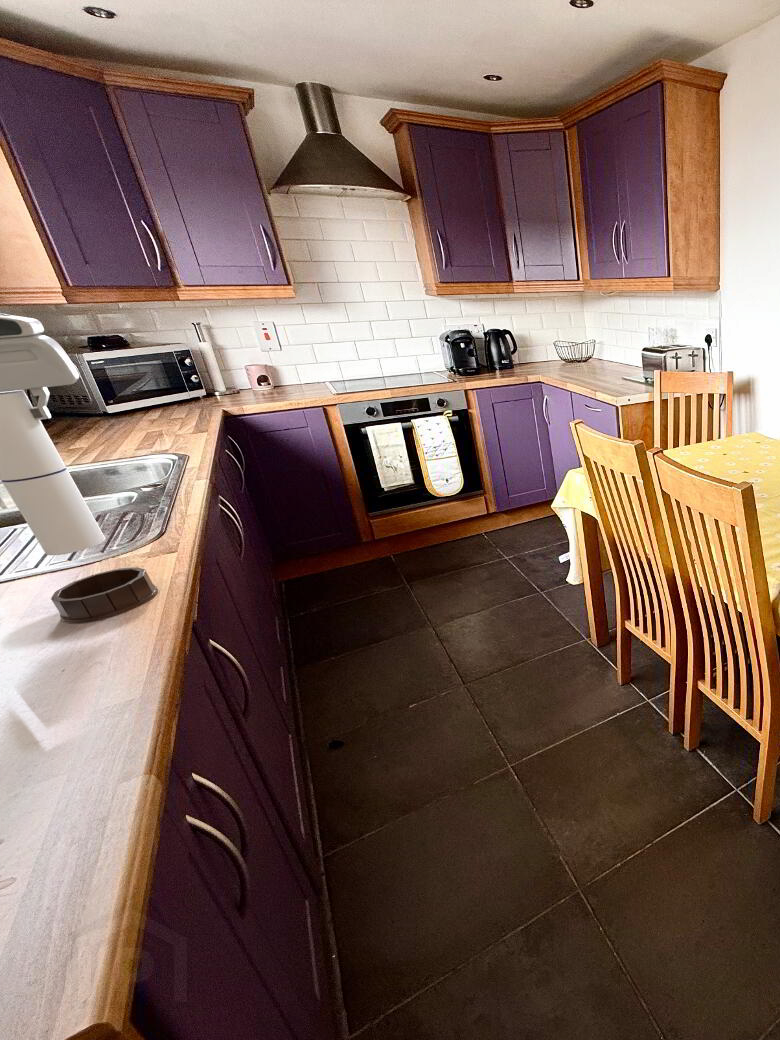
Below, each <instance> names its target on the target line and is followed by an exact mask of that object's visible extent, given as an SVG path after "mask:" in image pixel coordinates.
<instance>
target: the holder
mask: <svg viewBox="0 0 780 1040" xmlns="http://www.w3.org/2000/svg"><path fill="white" fill-rule="evenodd" d="M158 592H159V588H158V587H157V585H156V584H154V583H153V582H152V579H151V578H150V576H149V574H148V572H147V569H145V568H141V567H137V566H133V567H121V568H115V569H110V570H106V571H103V572H99V573H95V574H91V575H89V576H87V577H86V576H85V577H83V578H81V579H77V580H74V581H72V582H70V583H68V584H66V585H65V586H63V587H61V588H59V589H57V590H56V591H54V593H53V594H52V596H51V597H50V600H51V601H52V603H53V605H54V606H55V607H56V609H57V611H58V612H59V614H60V615H59V618H60V620H61V621H62V620H63V621H62V622H63V623H66V622H67V624H85V623H90V622H95V621H100V620H105V619H108V618H111V617H113V616H117V615H121V614H124V613H126V612H128V611H131V610H133V609H136V608H138V607H140V606H142V605H144V604H145V603H147V602H148V601H149V602H150V600H152V599H153V598H154V597H156V595H157V594H158Z"/></svg>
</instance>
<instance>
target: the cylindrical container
mask: <svg viewBox="0 0 780 1040" xmlns="http://www.w3.org/2000/svg"><path fill="white" fill-rule="evenodd" d="M33 407H34V406H33V404H32V403H31V401H30V399H29V397H28V395H27V394H26V392H25V389H24V390H15V391H6V392H0V480H1V483H2V485H3V486H4V488H5V489H6V492H8V494H9V496H10V497H11V499H12V501H13V502H14V504H15V505H16V508H18V511H19V512H20V514H21V516H22V517H23V519H24V520H25V522H26V524H27V526H28V527H29V529H30V530H31V532H32V534H33V535H34V537H35V539H36V540H37V542H38V544H39V545H40V547H41V549H42V550H43V553H45V555H46V556H62V555H67V554H72V553H73V554H74V553H77V552H81V551H85V550H87V549H90V548H94V547H96V546H98V545H100V544H102V543H103V542H105V540H106V536H105V535H104V532H103V531H102V530H101V528H100V526H99V524H98V522H97V520H96V519H95V517H94V514H93V513H92V511H91V510H90V508H89V506H88V504H87V503H86V501H85V499H84V497H83V495H82V493H81V492H80V489H79V488H78V486H77V484H76V483H75V481H74V479H73V477H72V476H71V473H70V472H69V469H68V468H67V466H66V464H65V462H64V461H63V458H62V457H61V455H60V453H59V452H58V450H57V448H56V446H55V444H54V442H53V441H52V438H50V435H49V433H48V432H47V430H46V428H45V426H44V424H43V422H42V421H41V420H36V419H35V418H34V414H32V413H31V411H30V409H31V408H33Z"/></svg>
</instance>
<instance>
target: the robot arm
mask: <svg viewBox="0 0 780 1040" xmlns="http://www.w3.org/2000/svg"><path fill="white" fill-rule="evenodd" d="M44 332H45V328H44V326H43V323H42V322H41V321H40V320H39V319H37V318H33V317H26V316H20V315H12V314H9V313H5V312H4V313H3V312H0V392H6V391H15V390H24V391H25V390H29V391H30V393H31V394H32V396H33V397H38V401H37V405H36V406H33V408H31V409H30V411H31V413H32V414H34V418H35V419H36V420H40V421H41V420H47V419H48V420H49V419H51V418H52V414H51V413H50V410H49V408H48V407H47V406H48V402H49V399H50V391H49V389H48V388H52V387H60V386H69V385H70V386H71V385H73V384H76V383H77V381H78V380H79V378H80V374H79V372H78V370H77V368H76V367H75V364H74V363H73V361H72V360H71V358H70V356H69V355H68V354H67V352H66V351H65V350H64V348H63V347H62V346H61V344H59V342H57V341H56V340H55V339H54V338H52V337H50V336H47V335H45V334H42V333H44Z"/></svg>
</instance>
